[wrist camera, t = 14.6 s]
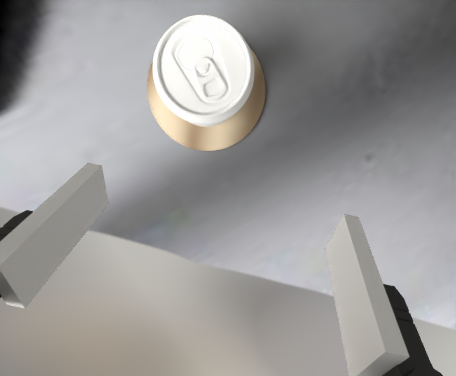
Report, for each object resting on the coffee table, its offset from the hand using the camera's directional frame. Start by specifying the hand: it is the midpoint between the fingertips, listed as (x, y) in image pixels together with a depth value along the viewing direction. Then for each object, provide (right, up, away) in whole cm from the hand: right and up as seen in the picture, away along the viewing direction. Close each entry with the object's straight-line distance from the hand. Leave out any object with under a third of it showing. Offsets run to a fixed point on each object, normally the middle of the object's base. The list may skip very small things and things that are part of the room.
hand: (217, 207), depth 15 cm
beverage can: (-2, +13, +17) cm, 21 cm away
